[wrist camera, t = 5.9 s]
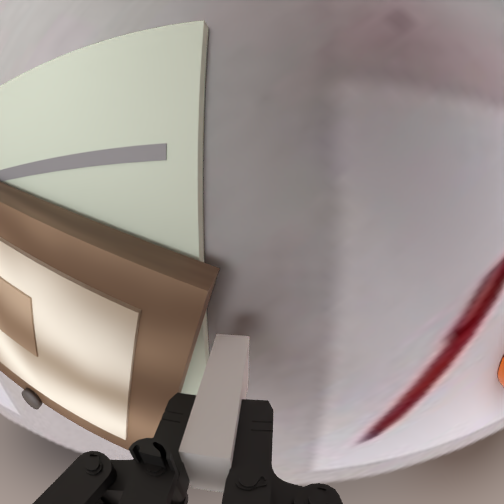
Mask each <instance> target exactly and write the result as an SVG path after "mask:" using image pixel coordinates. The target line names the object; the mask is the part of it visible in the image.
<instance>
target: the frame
mask: <svg viewBox="0 0 504 504" xmlns="http://www.w3.org/2000/svg"><path fill="white" fill-rule="evenodd" d="M219 269H220V268H218V267H215V266H212V265H209V264H207V263H204V262H201V261H198V260H196V259H193V258H190V257H188V256H185V255H182V254H179V253H177V252H174V251H171V250H169V249H166V248H163V247H161V246H158V245H155V244H153V243H150V242H147V241H145V240H142V239H140V238H137V237H134V236H132V235H129V234H127V233H124V232H121V231H119V230H116V229H114V228H111V227H109V226H106V225H104V224H101V223H99V222H96V221H93V220H91V219H88V218H86V217H83V216H81V215H78V214H76V213H74V212H71V211H69V210H66V209H64V208H61V207H59V206H56V205H54V204H52V203H49V202H47V201H44V200H42V199H39V198H37V197H35V196H32V195H30V194H28V193H25V192H23V191H21V190H18V189H16V188H14V187H11V186H9V185H7V184H4V183H2V182H0V371H2V372H3V373H4V374H5V375H6V376H8V377H9V378H10V379H11V380H13V381H14V382H15V383H16V384H18V385H19V386H20V387H22V388H23V389H24V391H23V392H22V396H23V398H24V399H25V401H26V402H27V403H28V404H29V405H30V406H31V407H33V408H34V409H39V407H40V406H41V405H42V402H43V403H44V404H45V405H47V406H48V407H50V408H52V409H53V410H55V411H56V412H58V413H59V414H61V415H63V416H64V417H66V418H67V419H69V420H71V421H73V422H74V423H76V424H78V425H79V426H81V427H83V428H85V429H87V430H88V431H90V432H92V433H94V434H96V435H98V436H100V437H102V438H104V439H106V440H108V441H110V442H112V443H114V444H116V445H118V446H120V447H123V448H125V449H127V450H129V447H130V446H131V445H132V444H133V443H134V442H136V441H137V440H139V439H143V438H153V437H154V435H155V432H156V430H157V428H158V425H159V423H160V420H161V418H162V416H163V413H164V412H165V408H166V406H167V404H168V401H169V400H170V399H171V398H172V397H173V396H174V395H175V394H176V393H177V392H178V393H181V391H182V388H183V384H184V381H185V378H186V374H187V371H188V368H189V364H190V361H191V358H192V354H193V351H194V348H195V345H196V341H197V338H198V335H199V332H200V329H201V325H202V322H203V319H204V316H205V313H206V310H207V306H208V303H209V300H210V297H211V294H212V291H213V288H214V285H215V282H216V279H217V276H218V272H219Z"/></svg>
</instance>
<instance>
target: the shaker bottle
mask: <svg viewBox="0 0 504 504" xmlns="http://www.w3.org/2000/svg"><path fill="white" fill-rule="evenodd" d="M498 379H499V381H500V383H501V384H502V386H503V387H504V356H503V359H502V361H501V363H500V367H499V371H498Z"/></svg>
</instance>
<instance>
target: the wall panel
mask: <svg viewBox="0 0 504 504" xmlns="http://www.w3.org/2000/svg"><path fill="white" fill-rule="evenodd" d="M207 42H208V26H207V25H206V23H205V21H204V20H202V21H194V22H186V23H179V24H173V25H167V26H161V27H156V28H151V29H147V30H142V31H138V32H134V33H130V34H126V35H122V36H118V37H115V38H111V39H108V40H104V41H101V42H98V43H95V44H92V45H89V46H86V47H83V48H80V49H78V50H75V51H72V52H70V53H67V54H65V55H62V56H60V57H57V58H55V59H53V60H50V61H48V62H46V63H44V64H41V65H39V66H37V67H35V68H33V69H31V70H29V71H27V72H25V73H23V74H21V75H19V76H17V77H15V78H14V79H12V80H10V81H8V82H6V83H5V84H3V85H1V86H0V182H2V183H4V184H7V185H9V186H11V187H14V188H16V189H18V190H21V191H23V192H25V193H28V194H30V195H32V196H35V197H37V198H39V199H42V200H44V201H47V202H49V203H52V204H54V205H56V206H59V207H61V208H64V209H66V210H69V211H71V212H74V213H76V214H78V215H81V216H83V217H86V218H88V219H91V220H93V221H96V222H99V223H101V224H104V225H106V226H109V227H111V228H114V229H116V230H119V231H121V232H124V233H127V234H129V235H132V236H134V237H137V238H140V239H142V240H145V241H147V242H150V243H153V244H155V245H158V246H161V247H163V248H166V249H169V250H171V251H174V252H177V253H179V254H182V255H185V256H188V257H190V258H193V259H196V260H198V261H201V262H204V232H203V132H204V99H205V76H206V58H207ZM208 359H209V343H208V328H207V311H206V313H205V316H204V319H203V322H202V325H201V329H200V332H199V335H198V338H197V341H196V345H195V348H194V351H193V354H192V358H191V361H190V364H189V368H188V371H187V374H186V378H185V381H184V384H183V388H182V391H181V393H184V394H191V395H197V392H198V389H199V386H200V383H201V380H202V377H203V374H204V371H205V368H206V365H207V362H208Z"/></svg>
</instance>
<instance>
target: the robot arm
mask: <svg viewBox="0 0 504 504" xmlns="http://www.w3.org/2000/svg"><path fill="white" fill-rule="evenodd" d="M248 382H249V336H240V335H225V334H216V337H215V340H214V343H213V346H212V349H211V352H210V356H209V359H208V362H207V365H206V368H205V371H204V374H203V377H202V380H201V383H200V386H199V389H198V392H197V395H191V394H184V393H178V392H177V393H176V394H175V395H174V396H173V397H172V398H171V399H170V400H169V401H168V404H167V406H166V408H165V412H164V413H163V416H162V418H161V420H160V423H159V425H158V428H157V430H156V432H155V435H154V437H153V438H143V439H139V440H137V441H136V442H134V443H133V444H132V445H131V446H130V447H129V451H130V453H131V455H132V456H133V458H134V459H133V460H110V459H109V458H108V457H107V456H106V455H105V454H103V453H100V452H98V451H89V452H86V453H83V454H82V455H81V456H79V457H78V458H77V459H76V460H75V461H74V462H73V463H72V464H71V465H70V467H68V469H66V471H65V472H64V473H63V474H62V475H61V476H60V477H59V478H58V479H57V480H56V481H55V482H54V483H53V484H52V485H51V486H50V487H49V488H48V489H47V490H46V491H45V492H44V493H43V494H42V495H41V496H40V497H39V498H38V499H37V500H36V501H35V502H34V503H33V504H187V503H188V494H187V489H188V486H189V483H190V486H191V488H197V489H204V490H210V491H217V492H224V494H223V499H222V504H343V503H342V501H341V499H340V496H339V494H338V493H337V492H336V490H335V489H333V488H332V487H330V486H328V485H325V484H320V483H318V484H310V485H307V486H305V487H302V486H298V485H294V484H290V483H288V482H285V481H283V480H281V479H280V478H278V477H277V476H276V474H275V473H274V471H273V469H272V464H271V461H272V435H273V409H272V407H271V405H270V403H269V401H264V400H247V399H246V398H247V390H248Z"/></svg>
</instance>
